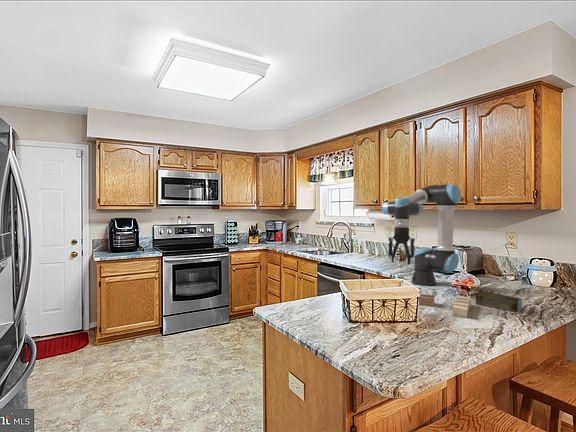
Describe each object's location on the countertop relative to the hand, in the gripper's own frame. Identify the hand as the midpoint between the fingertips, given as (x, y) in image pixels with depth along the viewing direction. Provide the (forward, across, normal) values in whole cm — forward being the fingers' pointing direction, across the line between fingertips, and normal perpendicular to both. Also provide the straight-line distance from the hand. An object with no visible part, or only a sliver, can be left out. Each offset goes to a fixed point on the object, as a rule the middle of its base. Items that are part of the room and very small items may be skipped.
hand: (400, 269), depth 182 cm
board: (+17, +30, -1) cm, 34 cm away
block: (+17, +12, 0) cm, 21 cm away
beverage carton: (+17, +45, +15) cm, 51 cm away
